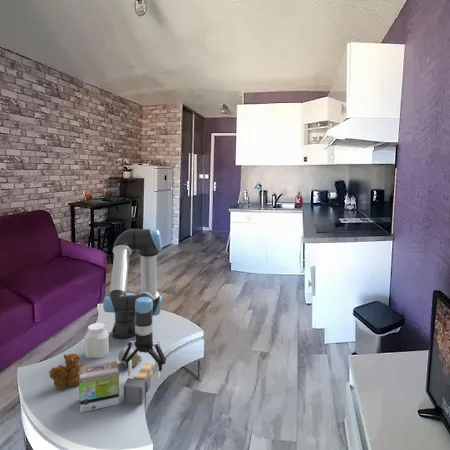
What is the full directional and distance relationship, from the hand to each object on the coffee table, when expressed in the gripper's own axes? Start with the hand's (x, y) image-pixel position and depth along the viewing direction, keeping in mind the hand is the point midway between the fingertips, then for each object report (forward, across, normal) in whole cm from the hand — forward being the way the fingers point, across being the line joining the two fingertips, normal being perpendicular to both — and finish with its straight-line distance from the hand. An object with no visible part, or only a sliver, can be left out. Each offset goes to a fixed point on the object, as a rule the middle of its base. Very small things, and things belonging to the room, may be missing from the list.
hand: (144, 375), depth 159 cm
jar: (+3, -32, +21) cm, 38 cm away
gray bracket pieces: (+3, 0, -9) cm, 10 cm away
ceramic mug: (+3, -12, +14) cm, 19 cm away
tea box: (+3, -14, -16) cm, 21 cm away
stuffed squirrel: (+3, -33, -6) cm, 34 cm away
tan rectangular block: (+3, 0, -1) cm, 3 cm away
